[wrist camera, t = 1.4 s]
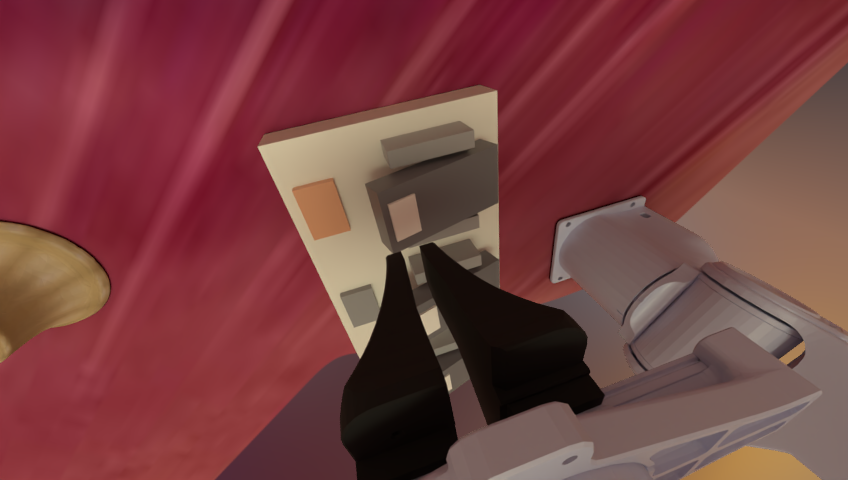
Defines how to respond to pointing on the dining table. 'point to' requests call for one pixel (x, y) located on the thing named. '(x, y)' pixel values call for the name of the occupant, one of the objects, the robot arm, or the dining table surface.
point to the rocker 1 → (434, 194)
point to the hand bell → (44, 284)
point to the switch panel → (349, 202)
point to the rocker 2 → (453, 369)
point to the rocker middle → (428, 306)
